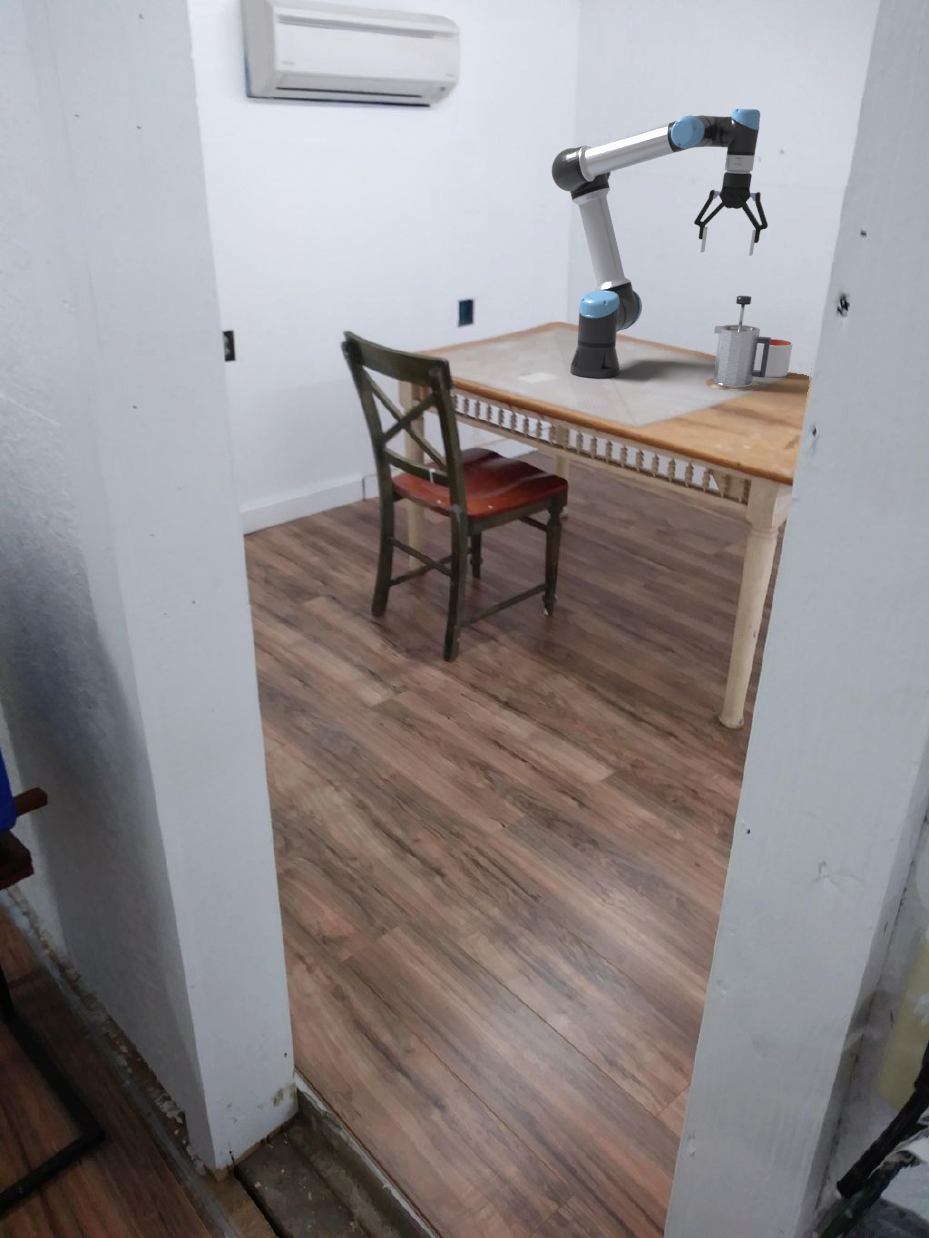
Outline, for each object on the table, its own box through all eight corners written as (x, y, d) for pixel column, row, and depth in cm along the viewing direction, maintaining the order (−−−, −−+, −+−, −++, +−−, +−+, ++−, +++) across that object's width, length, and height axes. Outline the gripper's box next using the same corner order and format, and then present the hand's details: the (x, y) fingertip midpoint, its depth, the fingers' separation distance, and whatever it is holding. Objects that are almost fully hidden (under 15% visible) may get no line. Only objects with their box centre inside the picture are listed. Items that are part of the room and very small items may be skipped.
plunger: (722, 336, 275) (727, 298, 270) (727, 331, 282) (732, 293, 277) (751, 339, 273) (756, 300, 268) (754, 333, 279) (760, 295, 274)
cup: (788, 380, 291) (794, 346, 286) (754, 378, 292) (759, 345, 288) (785, 372, 299) (790, 339, 295) (752, 370, 301) (757, 338, 296)
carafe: (705, 385, 282) (712, 330, 274) (711, 377, 291) (718, 323, 283) (760, 391, 276) (769, 334, 269) (765, 382, 285) (773, 327, 278)
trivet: (700, 389, 280) (700, 387, 280) (709, 377, 293) (709, 375, 293) (756, 395, 275) (756, 393, 275) (763, 382, 288) (763, 380, 288)
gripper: (690, 170, 265) (680, 252, 276) (784, 175, 258) (770, 258, 268) (694, 169, 272) (684, 248, 282) (785, 173, 264) (772, 254, 275)
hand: (726, 253), depth 275 cm, fingers open, 13 cm apart
